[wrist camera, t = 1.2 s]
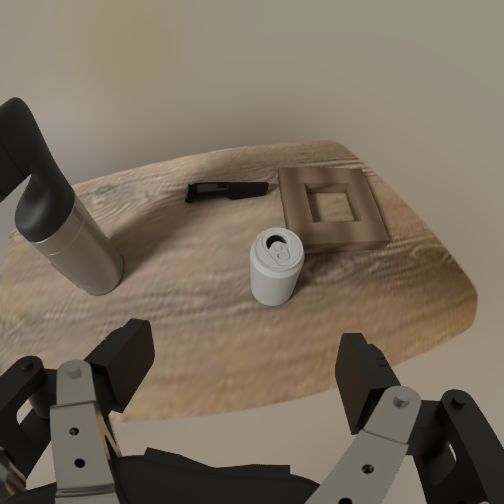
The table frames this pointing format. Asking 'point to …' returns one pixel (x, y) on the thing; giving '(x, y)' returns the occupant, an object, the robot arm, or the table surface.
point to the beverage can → (275, 265)
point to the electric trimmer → (225, 190)
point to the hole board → (331, 233)
